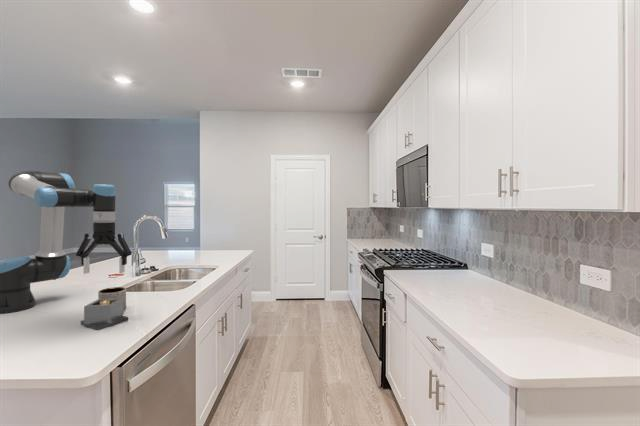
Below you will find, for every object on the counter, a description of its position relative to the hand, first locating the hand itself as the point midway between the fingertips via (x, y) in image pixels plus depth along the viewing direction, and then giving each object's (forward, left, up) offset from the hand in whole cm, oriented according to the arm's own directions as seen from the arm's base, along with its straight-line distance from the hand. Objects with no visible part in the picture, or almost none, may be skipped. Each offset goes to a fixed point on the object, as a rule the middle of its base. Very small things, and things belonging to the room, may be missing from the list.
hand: (104, 273), depth 129 cm
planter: (-13, +10, -21) cm, 26 cm away
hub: (0, 0, -21) cm, 21 cm away
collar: (0, 0, -19) cm, 19 cm away
